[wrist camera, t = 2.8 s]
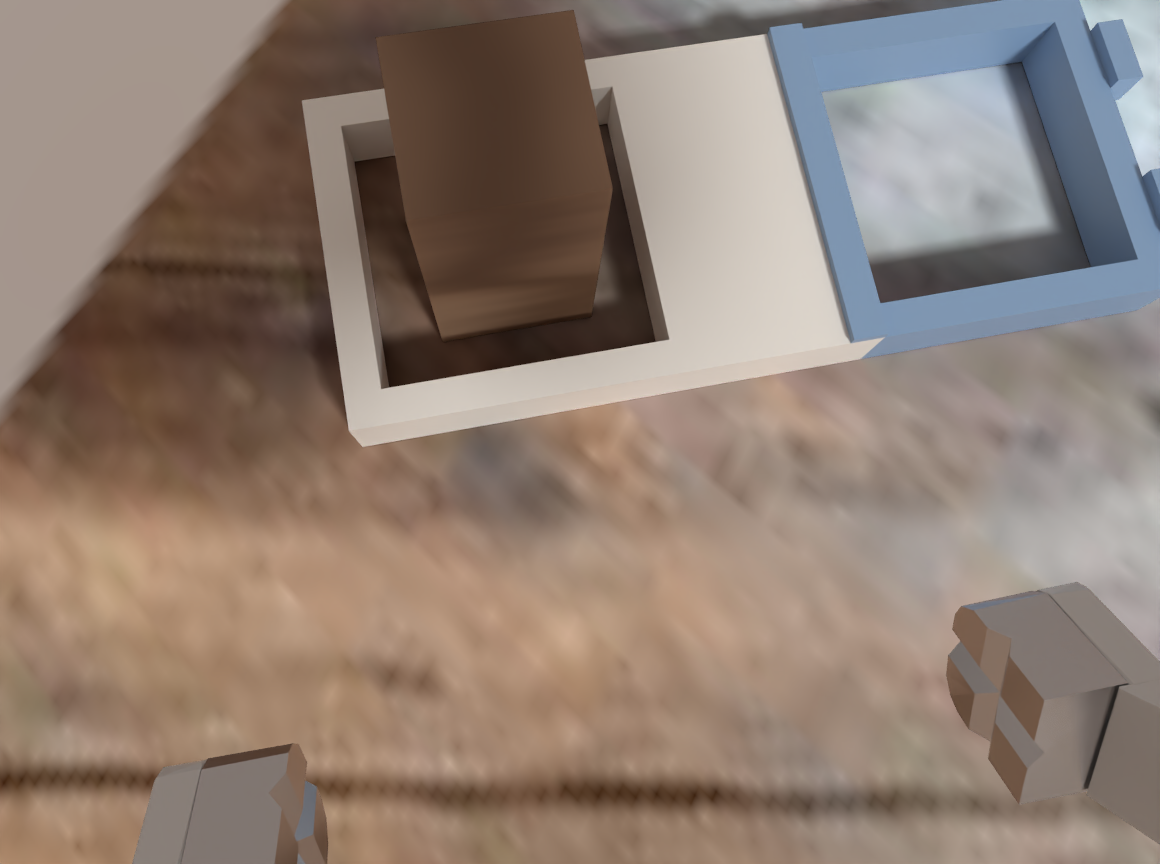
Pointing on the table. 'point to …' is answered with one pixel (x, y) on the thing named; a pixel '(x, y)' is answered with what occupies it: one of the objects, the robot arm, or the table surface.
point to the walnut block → (499, 170)
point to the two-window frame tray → (766, 212)
